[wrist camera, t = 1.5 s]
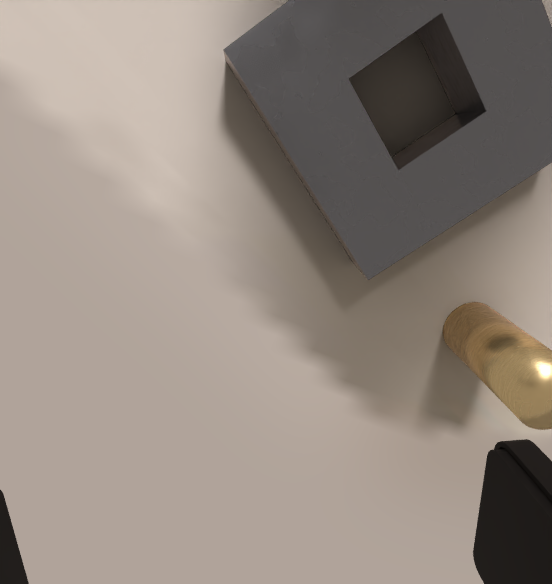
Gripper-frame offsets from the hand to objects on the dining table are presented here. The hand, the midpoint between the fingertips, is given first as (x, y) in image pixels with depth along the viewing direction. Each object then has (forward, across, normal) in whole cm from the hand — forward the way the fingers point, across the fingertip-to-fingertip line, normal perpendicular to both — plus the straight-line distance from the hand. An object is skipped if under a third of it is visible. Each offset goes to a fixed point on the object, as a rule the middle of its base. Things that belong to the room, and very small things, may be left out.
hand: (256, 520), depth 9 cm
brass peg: (+25, -18, +8) cm, 31 cm away
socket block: (+25, -10, -9) cm, 28 cm away
